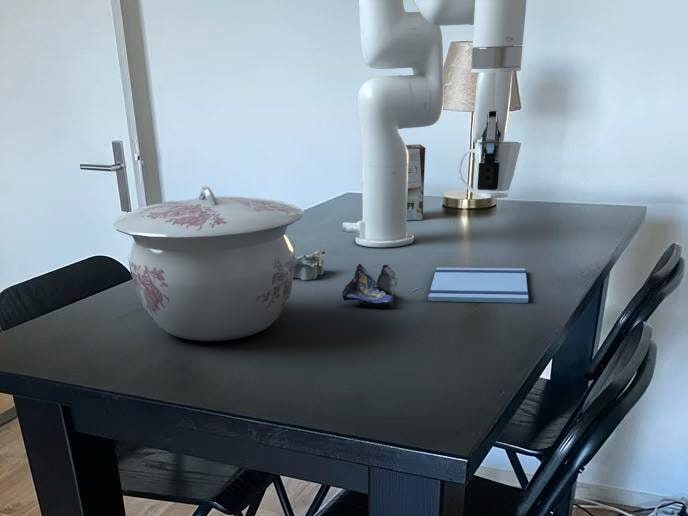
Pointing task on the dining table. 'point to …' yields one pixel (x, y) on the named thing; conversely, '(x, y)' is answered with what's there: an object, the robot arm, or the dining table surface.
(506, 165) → the cup
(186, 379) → the dining table surface
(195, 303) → the chamber pot
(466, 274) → the towel
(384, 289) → the snack package
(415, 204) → the coffee box
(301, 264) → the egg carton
